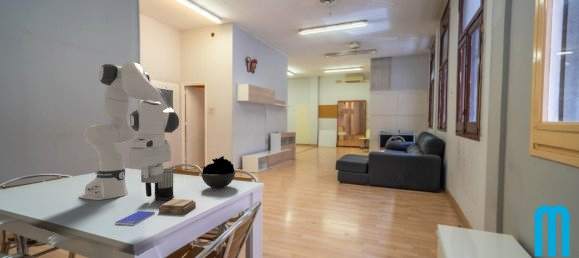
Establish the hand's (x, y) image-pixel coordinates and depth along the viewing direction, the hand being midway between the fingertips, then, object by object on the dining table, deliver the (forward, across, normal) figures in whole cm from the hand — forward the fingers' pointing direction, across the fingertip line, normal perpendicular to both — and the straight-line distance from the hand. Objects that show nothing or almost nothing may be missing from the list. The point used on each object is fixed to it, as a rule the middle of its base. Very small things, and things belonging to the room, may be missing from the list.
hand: (152, 175), depth 100 cm
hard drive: (+20, -2, -9) cm, 22 cm away
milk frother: (+19, -28, -13) cm, 36 cm away
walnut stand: (+19, -15, +2) cm, 24 cm away
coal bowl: (+19, -54, +4) cm, 57 cm away
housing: (+2, 0, 0) cm, 2 cm away
